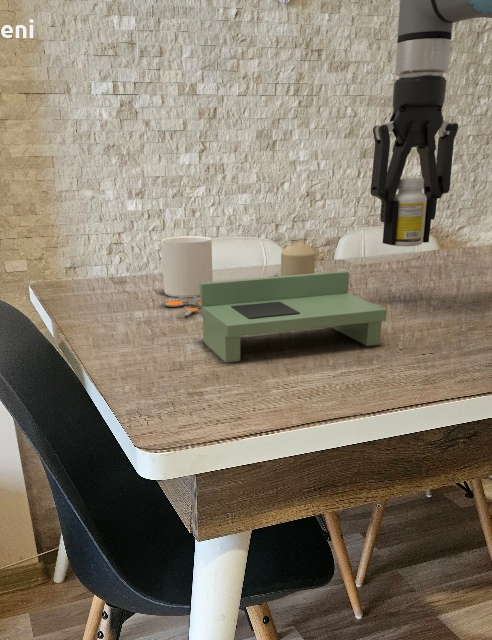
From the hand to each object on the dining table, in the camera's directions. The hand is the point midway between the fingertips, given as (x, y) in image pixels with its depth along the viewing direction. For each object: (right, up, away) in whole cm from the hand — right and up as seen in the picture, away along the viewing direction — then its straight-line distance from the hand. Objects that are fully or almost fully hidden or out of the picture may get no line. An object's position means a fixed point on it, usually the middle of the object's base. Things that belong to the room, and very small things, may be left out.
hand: (405, 242), depth 108 cm
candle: (-17, -9, +4) cm, 20 cm away
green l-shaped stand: (-21, -20, -17) cm, 33 cm away
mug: (-36, -3, +16) cm, 40 cm away
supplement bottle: (0, 0, 0) cm, 1 cm away
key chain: (-35, -10, +3) cm, 37 cm away
